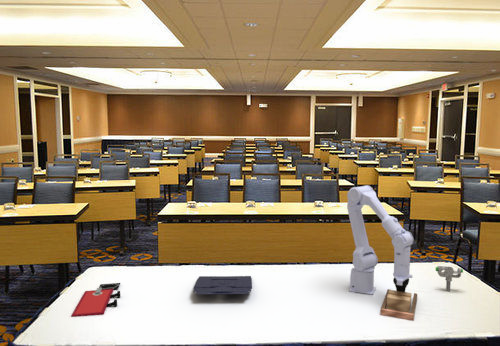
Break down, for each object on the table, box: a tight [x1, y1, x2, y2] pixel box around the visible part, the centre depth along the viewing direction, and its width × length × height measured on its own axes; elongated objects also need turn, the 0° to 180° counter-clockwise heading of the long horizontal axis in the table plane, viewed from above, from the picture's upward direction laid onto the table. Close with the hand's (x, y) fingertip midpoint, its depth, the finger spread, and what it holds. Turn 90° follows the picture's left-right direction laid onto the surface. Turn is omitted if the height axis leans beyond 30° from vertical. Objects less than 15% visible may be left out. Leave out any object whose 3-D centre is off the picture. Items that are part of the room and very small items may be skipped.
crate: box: [386, 289, 412, 313], centre depth 160 cm, size 8×8×6 cm
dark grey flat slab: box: [192, 275, 253, 295], centre depth 179 cm, size 24×30×4 cm
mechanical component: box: [435, 265, 464, 292], centre depth 176 cm, size 3×10×10 cm, turn 79°
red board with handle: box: [71, 282, 121, 318], centre depth 169 cm, size 30×3×15 cm
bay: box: [379, 288, 418, 321], centre depth 162 cm, size 11×21×2 cm, turn 155°
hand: (400, 296), depth 164 cm, fingers closed
